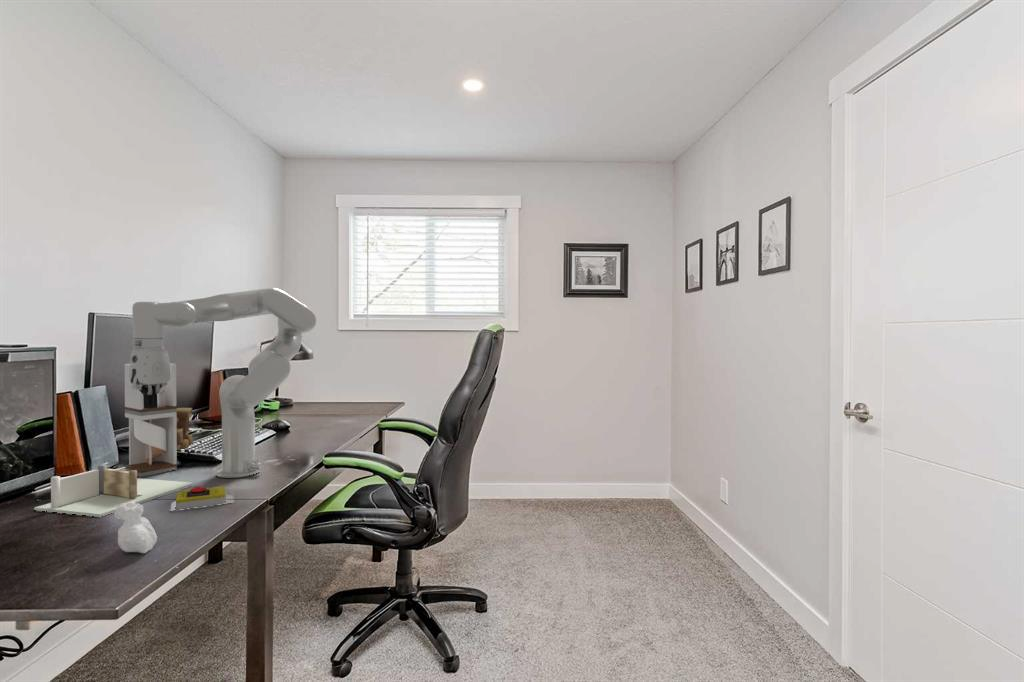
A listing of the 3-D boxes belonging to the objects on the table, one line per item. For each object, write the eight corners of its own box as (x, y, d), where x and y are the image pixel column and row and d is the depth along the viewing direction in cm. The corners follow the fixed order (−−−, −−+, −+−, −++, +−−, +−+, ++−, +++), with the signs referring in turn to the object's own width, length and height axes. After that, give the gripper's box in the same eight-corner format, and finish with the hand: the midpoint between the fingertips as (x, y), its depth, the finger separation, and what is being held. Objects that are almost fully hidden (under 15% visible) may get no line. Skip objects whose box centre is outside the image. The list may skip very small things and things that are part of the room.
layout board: (194, 485, 163) (193, 482, 163) (100, 517, 135) (100, 513, 135) (136, 480, 168) (136, 477, 168) (34, 510, 140) (34, 507, 140)
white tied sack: (138, 550, 121) (98, 514, 117) (170, 524, 123) (132, 489, 120) (133, 570, 110) (90, 532, 107) (168, 541, 113) (127, 504, 110)
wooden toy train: (160, 452, 208) (160, 408, 207) (194, 449, 212) (194, 406, 212) (149, 464, 189) (149, 415, 189) (187, 461, 194) (187, 414, 194)
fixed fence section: (103, 491, 153) (102, 464, 153) (108, 492, 153) (108, 464, 153) (48, 508, 139) (48, 477, 139) (55, 508, 139) (54, 478, 139)
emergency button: (171, 487, 147) (233, 480, 155) (171, 503, 147) (233, 496, 155) (168, 496, 139) (234, 488, 146) (168, 513, 139) (234, 505, 146)
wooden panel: (102, 493, 151) (102, 467, 151) (109, 491, 152) (109, 466, 152) (132, 498, 146) (131, 472, 146) (138, 496, 148) (138, 470, 148)
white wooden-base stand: (125, 471, 179) (124, 364, 178) (161, 465, 188) (160, 362, 187) (140, 476, 172) (139, 365, 172) (176, 470, 181) (176, 363, 181)
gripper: (137, 345, 150) (138, 412, 151) (180, 343, 165) (182, 404, 165) (114, 345, 152) (116, 411, 152) (159, 343, 167) (161, 404, 167)
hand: (150, 407), depth 159 cm, fingers closed
